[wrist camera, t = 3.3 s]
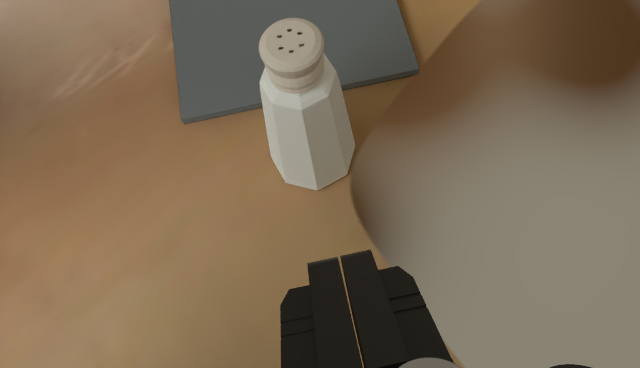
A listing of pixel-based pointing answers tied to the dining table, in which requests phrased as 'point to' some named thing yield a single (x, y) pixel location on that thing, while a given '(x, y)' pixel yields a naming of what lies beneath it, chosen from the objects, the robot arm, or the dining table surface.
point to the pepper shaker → (303, 106)
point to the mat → (244, 58)
